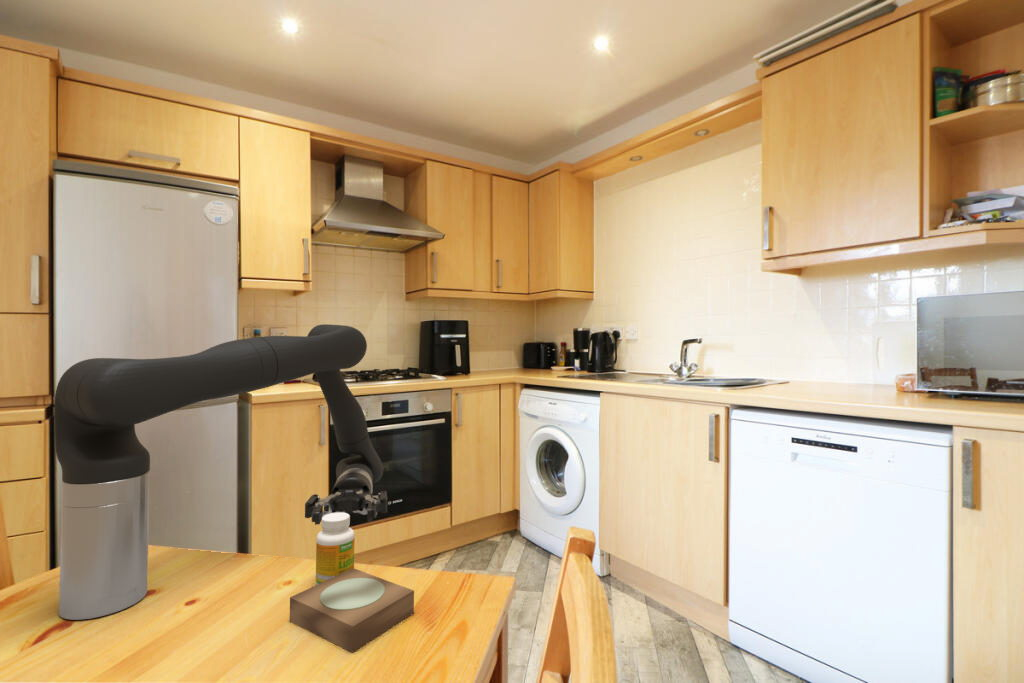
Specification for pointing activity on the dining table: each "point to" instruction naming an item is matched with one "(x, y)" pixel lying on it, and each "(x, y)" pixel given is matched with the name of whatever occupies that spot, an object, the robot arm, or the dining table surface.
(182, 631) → the dining table surface
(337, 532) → the supplement bottle
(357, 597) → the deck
